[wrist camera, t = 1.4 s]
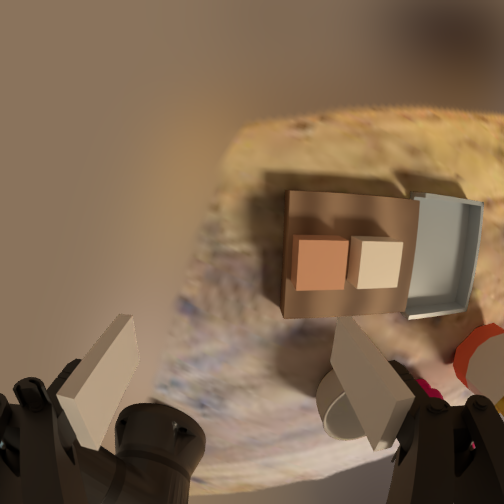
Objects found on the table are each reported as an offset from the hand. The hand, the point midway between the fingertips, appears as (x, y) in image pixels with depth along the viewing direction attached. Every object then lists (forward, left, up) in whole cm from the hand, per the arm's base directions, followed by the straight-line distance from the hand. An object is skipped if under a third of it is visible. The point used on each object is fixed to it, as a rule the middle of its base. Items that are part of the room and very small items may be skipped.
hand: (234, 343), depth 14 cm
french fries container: (+41, -17, -20) cm, 49 cm away
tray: (+28, 0, -20) cm, 34 cm away
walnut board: (+13, 0, -20) cm, 24 cm away
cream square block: (+15, 0, -17) cm, 22 cm away
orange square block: (+8, 0, -17) cm, 19 cm away
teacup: (+17, -20, -20) cm, 33 cm away
